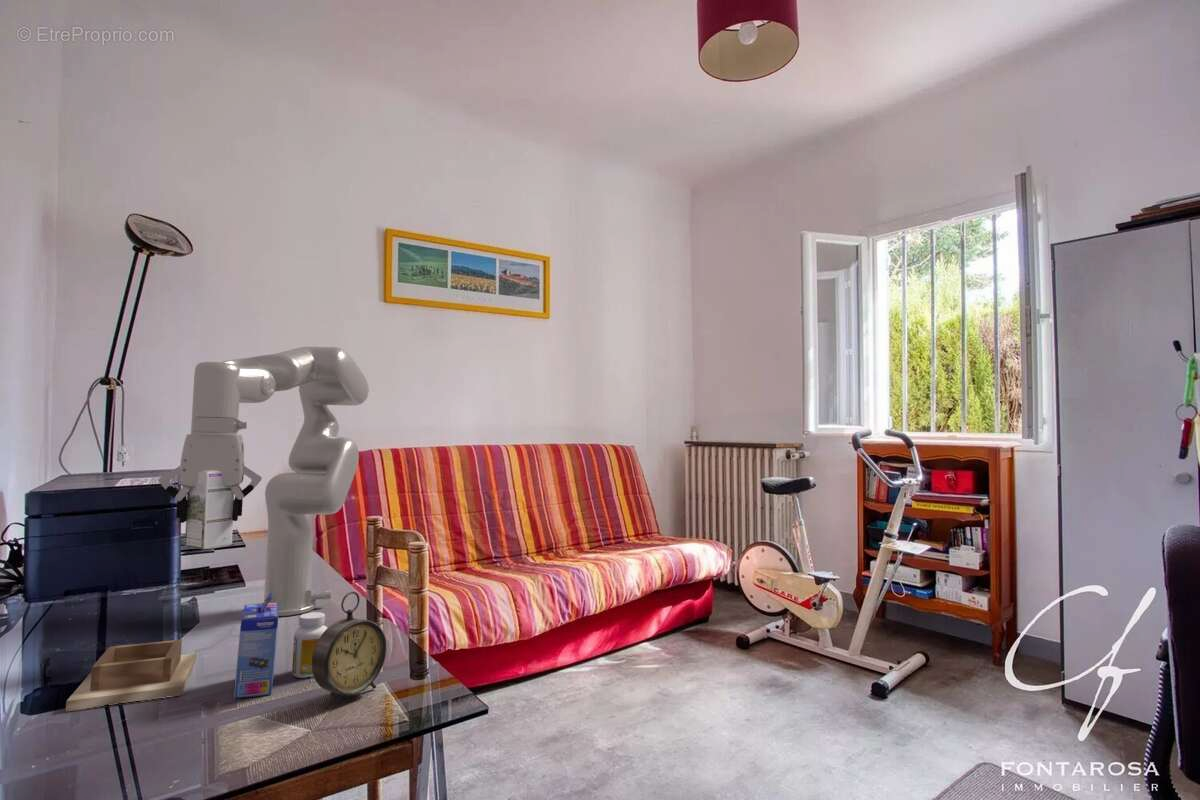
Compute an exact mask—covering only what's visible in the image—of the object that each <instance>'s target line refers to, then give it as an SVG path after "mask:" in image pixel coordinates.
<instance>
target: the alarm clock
mask: <svg viewBox="0 0 1200 800" xmlns="http://www.w3.org/2000/svg"><path fill="white" fill-rule="evenodd" d="M352 594H353V595H355V596H356V598H357V601H356V602H357V603H356V606H355V607H354V608H353V609H350V608H349V609H347V610H345V608H344V602H345V600H346V598H347V597H348V596H349V595H352ZM359 604H360V595H359V593H358V592H356V591H350V592H347V593H346V594H345V595H344V596H343V598H342V600H341V604H340V606H341V610H342V612H343V613H345V614H347V616H346V617H345V618H340V619H338V620H337V621H335V622H334V623H332V624H331V625H330V626H327V629H326V630H325V631H324V633H323V634H322V635H321V637H320V638H319V640H318V642H317V644H316V646H315V649H314V652H313V656H312V672H313V676H314V677H313V678H314V680H315V681H316V683H317V684H318V686H319V687H320V688H322V689H323V690H326V691H327V692H330V694H329V696H328V697H327V701H326V703H325V704H324V706H323V707H324V709H328V708H330V704H331V702H332V701H333V699H334V697H335V695H341V696H354V695H357V694H359V693H361V692H363V691H365V690H366V689H367V688H369V686H370V687H371V688H372V689H373V690H375V689H376V688H377V685H376V684H374V682H375V680H376V679H377V677H378V676H379V675H380V672H381V670H382V668H383V666H384V663H385V661H386V660H385V659H386V655H387V640H386V636H385V633H384V631H383V629H382V628H381V626H380V625H379V624H377V623H376V622H375V621H373V620H370V619H362V618H359V617H358V618H357V617H354V616H353V613H354V612H355V611H356V610H357V608H358V607H359ZM374 688H375V689H374Z"/></svg>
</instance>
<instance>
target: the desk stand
mask: <svg viewBox="0 0 1200 800" xmlns="http://www.w3.org/2000/svg"><path fill="white" fill-rule="evenodd" d="M182 643H183V639H173V640H165V641H153V642H145V643H135V644H124V645H114V646H109V647H108V648H107V649H106V650H105V651H104V653H102V655H100V657H99V658H98V660H97V661H96V662H95V663H94V664H93V665H92V667H91V672H90V673H89V674H88V675H87V676H86V677H85V679H84V680H83V681H82V682H81V684H80V685H79V686H78V687H77V688H76V690H74V692H73V693H72V694H71V695H70V696H69V698H67V700H66V703H65V712H71V711H72V712H74V711H81V710H88V709H87V708H89V709H94V708H93V707H95V706H101V705H107V704H108V705H109V704H114V703H126V702H133V701H139V700H144V699H153V698H159V697H167V696H179V697H181V696H180V695H182V696H183V693H184V691H185V689H186V686H187V684H188V682H187V681H189V680H190V677H191V675H192V673H191V671H192V672H193V670H194V668H195V666H194V664H195V665H196V663H197V655H198V654H197V653H195V652H194V653H187V654H182V646H183V645H182ZM195 662H196V663H195ZM193 667H194V668H193ZM192 669H193V670H192ZM190 674H191V675H190ZM189 676H190V677H189ZM188 679H189V680H188ZM184 688H185V689H184ZM183 690H184V691H183ZM126 704H127V703H126ZM91 707H92V708H91Z"/></svg>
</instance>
